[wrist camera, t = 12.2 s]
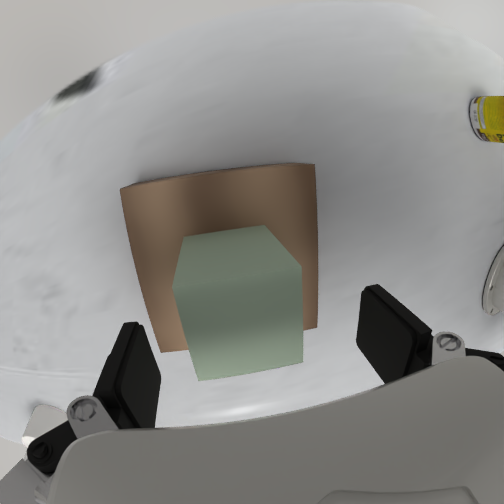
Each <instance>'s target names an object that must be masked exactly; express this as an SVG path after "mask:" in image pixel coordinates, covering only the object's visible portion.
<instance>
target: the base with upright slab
mask: <svg viewBox="0 0 504 504" xmlns="http://www.w3.org/2000/svg"><path fill="white" fill-rule="evenodd" d="M67 420H68V418H67V414H66V412H64V411H62V410H60V409H57V408H55V407H52V406H48V405H38V406H36V407H35V409H34V411H33V413H32V416H31V418H30V420H29V422H28V425H27V427H26V429H25V432H24V434H23V437H22V443H23V444H24V446H25V447H26V448H28V446H29V444H30V443H31V442H32V441H33V440H34V439H36V438H38V437H39V436H41V435H43V434H45V433H46V432H48V431H50V430H52V429H53V428H55V427H57V426H59V425H60V424H62V423H64V422H65V421H67ZM27 459H28V458H27V451H26V454H25V457H24V460H25V461H26V460H27Z"/></svg>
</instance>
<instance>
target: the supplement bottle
mask: <svg viewBox="0 0 504 504" xmlns="http://www.w3.org/2000/svg"><path fill="white" fill-rule="evenodd" d="M470 118H471V122H472V126H473V128H474V131H475V132H476V134H477V135H478V137H479V138H480V139H482V140H484V141H490V142H499V143H504V96H484V97H476V98H474V99H473V100H472V102H471V105H470Z"/></svg>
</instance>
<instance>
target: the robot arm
mask: <svg viewBox="0 0 504 504" xmlns="http://www.w3.org/2000/svg"><path fill="white" fill-rule="evenodd" d="M483 308H484V311H485V312H486V313H487V314H489V315H495V314H497V313H499V312H500V311H501V312H503V313H504V246H503V247H502V249H501V250H500V252H499V253H498V255H497V257H496V258H495V261H494V263H493V265H492V267H491V270H490V272H489V275H488V278H487V281H486V285H485V288H484V294H483ZM431 333H432V330H431V329H430V328H429V327H428V326H427V325H426V324H425V323H424V322H422V321H421V320H420V319H419V318H418V317H417V316H416V315H414V314H413V313H412V312H411V311H410V310H409V309H407V308H406V307H405V306H404V305H403V304H402V303H400V302H399V301H398V300H397V299H396V298H394V297H393V296H392V295H391V294H390V293H388V292H387V291H386V290H385V289H384V288H382V287H381V286H380V285H378V284H375V285H370V286H366V287H365V289H364V290H363V291H362V293H361V302H360V312H359V321H358V329H357V337H356V343H357V346H358V348H359V349H360V350H361V352H362V353H363V354H364V356H365V357H366V358H367V360H368V361H369V362H370V364H371V365H372V367H373V368H374V369H375V371H376V372H377V373H378V375H379V376H380V378H381V379H382V380H383V382H384V383H385V384H384V385H381V386H378V387H375V388H373V389H370V390H367V391H364V392H361V393H358V394H355V395H351V396H348V397H345V398H342V399H338V400H335V401H331V402H328V403H324V404H320V405H316V406H312V407H308V408H304V409H300V410H295V411H291V412H286V413H282V414H277V415H271V416H266V417H260V418H254V419H248V420H241V421H234V422H227V423H218V424H208V425H197V426H183V427H165V428H155V420H156V412H157V405H158V398H159V391H160V384H161V374H160V371H159V368H158V366H157V363H156V360H155V358H154V355H153V352H152V350H151V347H150V344H149V341H148V338H147V335H146V332H145V329H144V327H143V325H139V323H138V322H127V323H124V324H123V326H122V328H121V330H120V333H119V335H118V337H117V340H116V342H115V344H114V347H113V349H112V351H111V354H110V355H109V356H108V358H107V360H106V362H105V365H104V367H103V370H102V372H101V375H100V377H99V380H98V382H97V385H96V388H95V390H94V393H93V396H88V395H87V396H81V397H79V398H76V399H75V400H73V401H72V402H71V403H70V404H69V406H68V408H67V413H66V414H67V418H68V420H67V421H65V422H64V423H62V424H60V425H59V426H57V427H55V428H53V429H52V430H50V431H48V432H46V433H45V434H43V435H41V436H39V437H38V438H36V439H34V440H33V441H32V442H31V443H30V444H29V446H28V448H27V458H28V459H27V460H26V461H25V460H24V459H21V460H20V461H19V462H18V463H17V465H16V466H15V467H13V468H12V469H11V471H9V473H8V474H6V475H5V476H4V478H3V479H2V480H1V481H0V503H1V504H504V357H503V356H502V355H501V354H499V353H495V352H488V351H481V350H475V349H468V348H465V344H464V341H463V339H462V338H461V337H460V336H458V335H457V334H455V333H452V332H440V333H438V334H436V335H435V336H434V337H433V336H432V335H431Z"/></svg>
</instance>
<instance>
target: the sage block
mask: <svg viewBox="0 0 504 504" xmlns="http://www.w3.org/2000/svg"><path fill="white" fill-rule="evenodd" d="M172 289H173V293H174V297H175V301H176V305H177V309H178V313H179V317H180V320H181V324H182V328H183V331H184V335H185V338H186V342H187V345H188V349H189V352H190V355H191V358H192V362H193V365H194V368H195V371H196V374H197V377H198V381H204V380H211V379H219V378H225V377H232V376H238V375H244V374H249V373H255V372H260V371H265V370H270V369H275V368H280V367H284V366H289V365H293V364H297V363H302V362H303V296H302V266H301V265H300V264H299V263H298V262H297V261H296V260H295V258H294V257H293V256H292V255H291V254H290V253H289V252H288V251H287V249H286V248H285V247H284V246H283V245H282V244H281V243H280V242H279V240H278V239H277V238H276V237H275V236H274V235H273V234H272V233H271V232H270V230H269V229H268V228H267V227H266V226H265V225H260V226H253V227H246V228H239V229H232V230H225V231H219V232H212V233H205V234H199V235H193V236H186V237H184V238H183V242H182V246H181V250H180V254H179V258H178V263H177V267H176V271H175V276H174V280H173V285H172Z"/></svg>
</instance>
